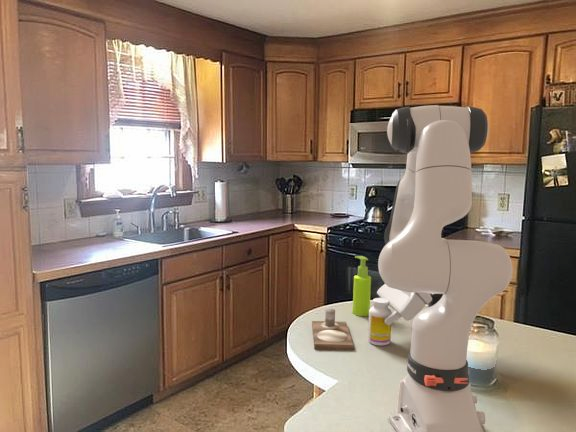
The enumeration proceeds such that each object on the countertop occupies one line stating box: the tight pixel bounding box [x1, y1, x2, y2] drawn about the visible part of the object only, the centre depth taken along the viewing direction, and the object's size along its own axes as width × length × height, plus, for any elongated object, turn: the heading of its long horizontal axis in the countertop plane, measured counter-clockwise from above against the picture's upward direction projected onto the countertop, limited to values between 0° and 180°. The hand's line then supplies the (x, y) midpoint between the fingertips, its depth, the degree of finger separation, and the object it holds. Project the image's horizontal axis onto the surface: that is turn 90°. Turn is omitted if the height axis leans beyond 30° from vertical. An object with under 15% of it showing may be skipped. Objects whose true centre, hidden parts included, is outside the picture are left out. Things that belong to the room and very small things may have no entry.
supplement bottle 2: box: [427, 293, 443, 308], centre depth 159 cm, size 7×7×12 cm
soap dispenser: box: [352, 255, 372, 317], centre depth 162 cm, size 6×7×20 cm
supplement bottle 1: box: [367, 297, 393, 347], centre depth 138 cm, size 7×7×13 cm
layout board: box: [311, 308, 354, 351], centre depth 141 cm, size 18×11×6 cm, turn 179°
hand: (379, 317), depth 138 cm, fingers open, 8 cm apart
